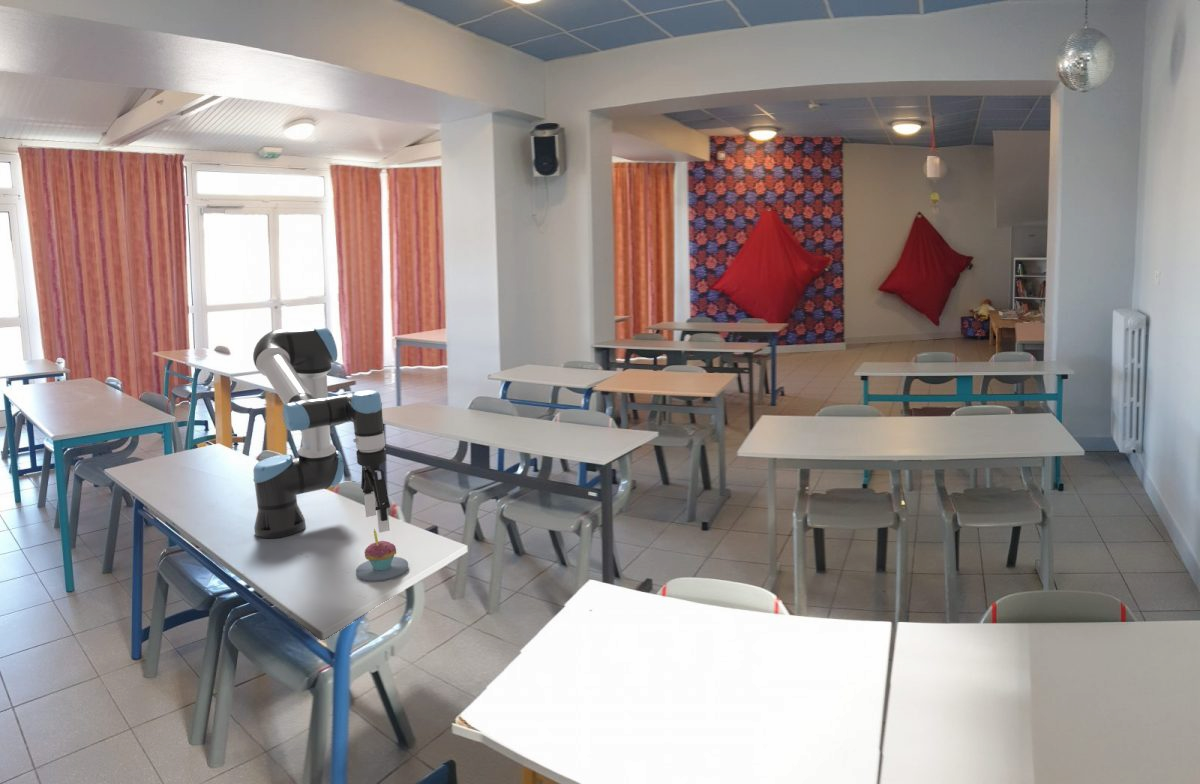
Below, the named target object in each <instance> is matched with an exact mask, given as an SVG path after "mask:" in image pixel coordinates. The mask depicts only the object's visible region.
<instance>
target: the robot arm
mask: <svg viewBox="0 0 1200 784" xmlns="http://www.w3.org/2000/svg"><path fill="white" fill-rule="evenodd" d="M252 355H253V356H252V359H253V360H252V361H253V363H254V366H255V368H256V369H257V371H258V372H259V374H261V375H262V376H265V377H266V379H268V381H269V383H270V384H271V386H272V387H273V389H274V391H275V393H276V395H278V397H279V399H280V400H281V402H282V404H283V407H282V411H281V412H282V413H281V414H282V419H283V423H284V426H285V428H286V430H288V431H290V432H295V431H296V432H297V431H301V441H302V443H301V444H302V446H301V447H300V448H298V450H297V456H298V457H294V458H293V457H292V455H290V454H281V455H280V454H278V455H274V456H270V457H267V458H264V459H262V460H260V461H259V462H257V463H256V464H255V465H254V466H253V482H254V488H255V497H256V504H257V512H256V517H255V522H254V534H255V536H256V537H259V538H262V539H276V538H277V539H278V538H283V537H288V536H292V535H294V534H298V533H300V532H301V531H303V530H304V529H305V528H306V518H305V516H304V514H303V512H302V511H301V509H300V506H299V505H298V500H297V496H298V495H301V494H306V493H312V492H315V491H321V490H327V489H329V488H333V487H337V486H338V485H340V483H341V482H342V480H343V477H344V467H345V465H344V461H343V455H342V454H341V452H340V451H339V450H337V448H336V446H335V445H333V444H332V443H331V427H330V426H332V425H338V424H343V423H349V422H352V423H353V431H354V432H353V433H354V437H355V438H354V439H353V440H352V441H353V442H354V443H355V448H356V454H355V455H356V462H357V465H359V466H361V484H360V488H361V490H362V492H363V499H364V509H365V516H366V518H369V517H374V516H377V526H378V527H377V528H378V533H383V532H384V533H385V532H388V531H390V519H389V508H391V504H390V501H389V496H388V495H389V494H388V491H387V490H388V489H387V485H386V480H385V472H384V470H382V469H381V468H380V466H381V464H384V463H386V461H387V453H386V448H385V446H386V440H385V439H386V438H385V430H384V421H383V420H384V419H383V403H382V399H381V394H380V392H379V391H376V390H370V389H369V390H368V389H367V390H366V389H365V390H359V391H344V392H342V393H340V394H339V395H335V396H329V393H328V392H329V391H328V381H327V380H328V377H327V376H328V375H327V374H328V373H329V372H331V370H332V363H334V362H336V361H337V360H338V349H337V344H336V341H335V338H334V336H333V334H332V332H331V330H330V329H329V328H328V327H326V326H324V325H309V326H301V327H294V328H293V327H292V328H285V329H284V328H283V329H280V328H279V329H275V330H272V331H269V332H268V333H265V334H264V335H263V336H262V337H261V338H259V341H258V342H257V343H256V344H255V347H254V350H253V354H252ZM376 505H377V506H376Z"/></svg>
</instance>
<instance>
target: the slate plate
mask: <svg viewBox="0 0 1200 784" xmlns="http://www.w3.org/2000/svg"><path fill="white" fill-rule="evenodd" d="M408 571H409V562H408V560H406V559H405V558H402V557H399V556H394V557H393V559H392V562H391V567H390V568H388V569H386V570H380V571H379V570H374V569H373V567H372V565H371V563H370V561H369V560H366V561H364V562H362V563H361V564H359V565H358V566H357V567H356V570H355V574H356V577H357V579H359V580H360V581H363V582H366V583H367V582H368V583H380V582H387V581H391V580H394V579H397V578H399V577H402V576H403V575H405V574H406V573H407V572H408Z"/></svg>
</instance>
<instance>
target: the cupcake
mask: <svg viewBox="0 0 1200 784" xmlns="http://www.w3.org/2000/svg"><path fill="white" fill-rule="evenodd" d="M373 535H374V542H373V543H371V544H369V545H368V546H367V547H365V550H364V557H365V559H366V561H370V563H371V565H372V567H373V569H374V570H379V571H380V570H386V569H388V568H390V567H391V562H392V559H393V557H395V555H396V554H397V548H396V545H395V544H394V543H391V542H389V541H386V540H380V541H379V539H378V534H377V531H376V529H375V528H374V529H373Z"/></svg>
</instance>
